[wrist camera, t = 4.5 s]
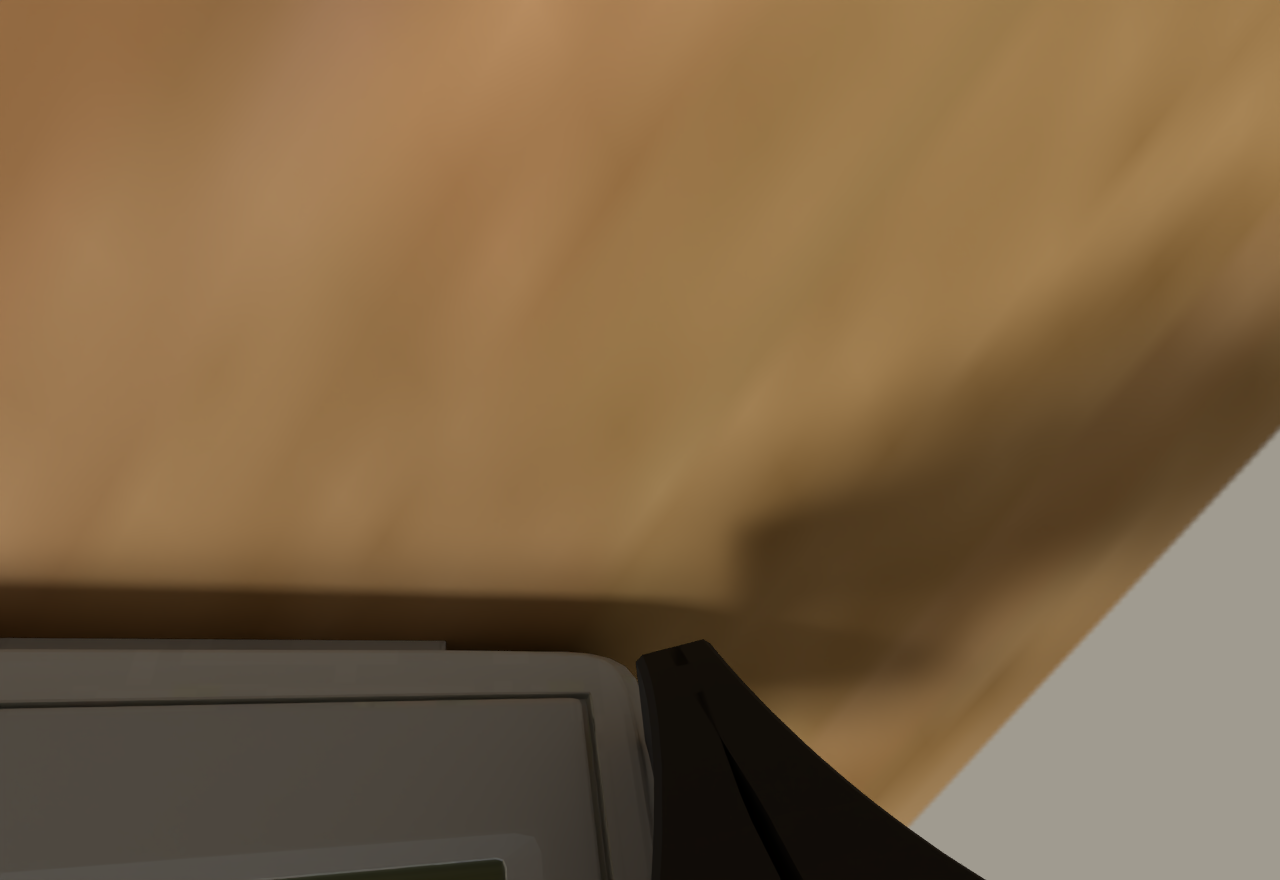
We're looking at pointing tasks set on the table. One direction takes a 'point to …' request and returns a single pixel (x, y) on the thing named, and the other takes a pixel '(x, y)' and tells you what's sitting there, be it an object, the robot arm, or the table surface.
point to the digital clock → (318, 762)
